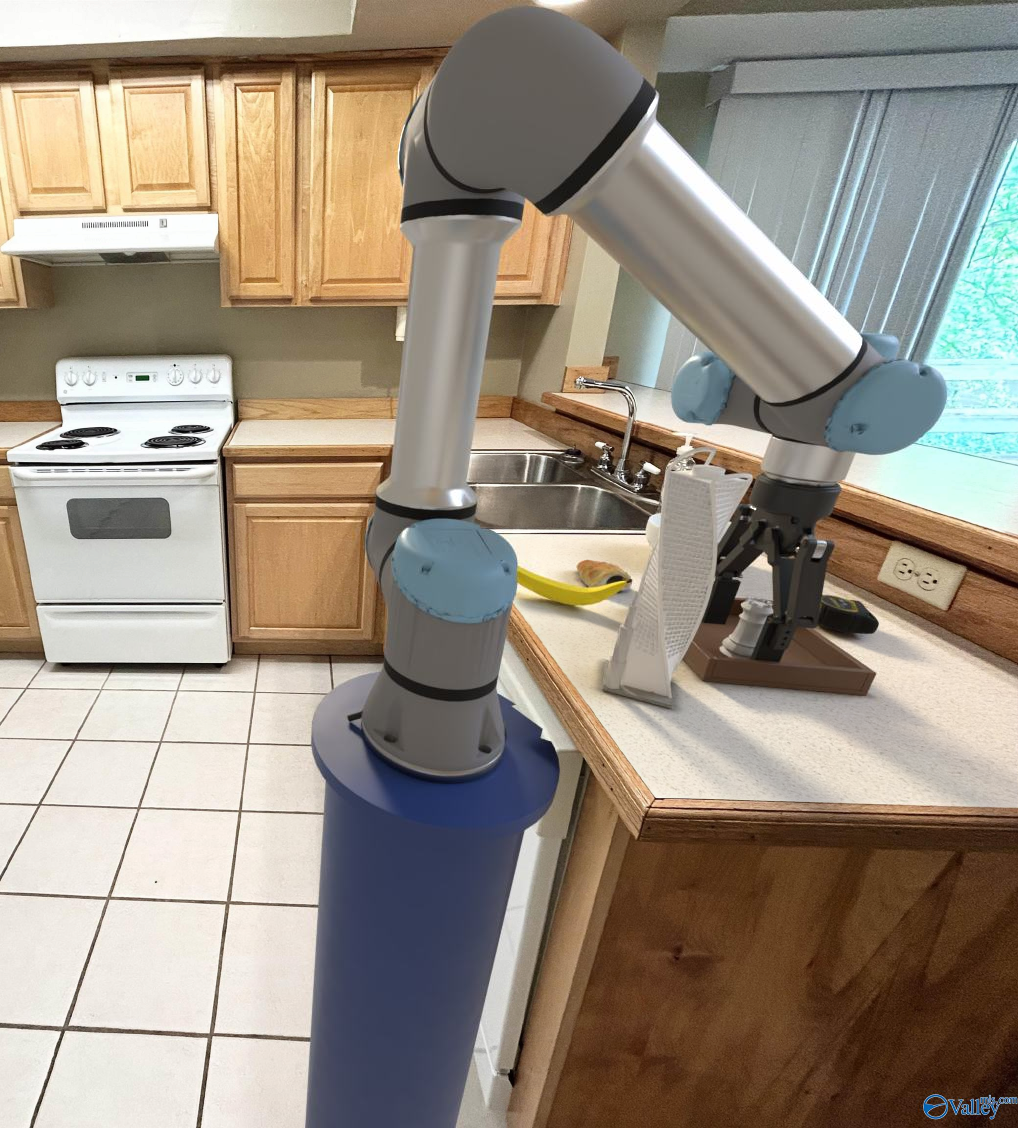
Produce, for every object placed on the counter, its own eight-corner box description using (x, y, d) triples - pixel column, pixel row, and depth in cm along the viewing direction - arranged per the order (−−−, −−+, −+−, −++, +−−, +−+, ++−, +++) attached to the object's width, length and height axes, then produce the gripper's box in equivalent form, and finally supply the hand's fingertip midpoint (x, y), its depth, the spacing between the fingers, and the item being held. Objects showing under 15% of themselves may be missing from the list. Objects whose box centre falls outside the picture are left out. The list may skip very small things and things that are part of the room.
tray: (702, 680, 72) (709, 658, 71) (636, 609, 90) (641, 590, 89) (866, 695, 69) (877, 673, 68) (764, 618, 87) (771, 600, 86)
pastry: (564, 571, 103) (569, 550, 102) (601, 570, 104) (606, 550, 102) (594, 594, 95) (600, 572, 93) (635, 593, 95) (641, 572, 94)
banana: (495, 582, 99) (501, 547, 96) (623, 615, 88) (634, 576, 85) (489, 588, 96) (495, 552, 94) (620, 622, 86) (631, 582, 83)
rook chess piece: (747, 669, 73) (769, 611, 70) (710, 652, 77) (729, 596, 74) (769, 661, 75) (791, 605, 72) (731, 645, 79) (750, 590, 76)
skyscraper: (605, 657, 77) (663, 441, 66) (679, 676, 73) (753, 449, 62) (601, 689, 70) (665, 454, 59) (683, 711, 66) (766, 464, 55)
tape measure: (873, 643, 81) (884, 618, 79) (809, 630, 84) (819, 607, 82) (856, 622, 86) (867, 599, 85) (797, 611, 89) (806, 589, 88)
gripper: (923, 511, 56) (831, 700, 65) (773, 455, 77) (719, 605, 86) (835, 506, 57) (756, 693, 66) (711, 452, 78) (664, 600, 87)
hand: (735, 643), depth 76 cm, fingers open, 10 cm apart
